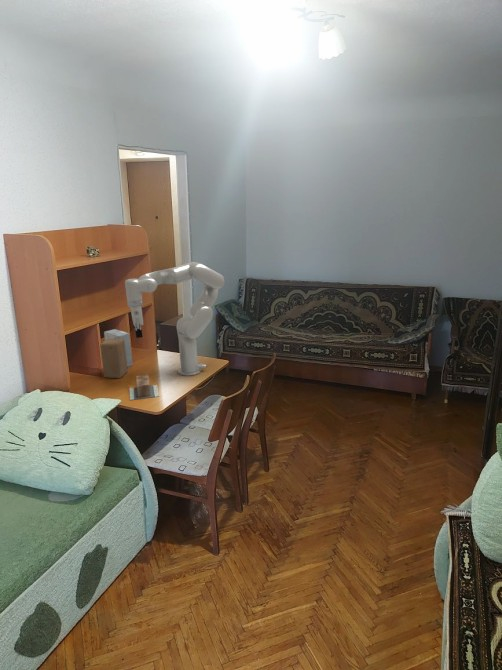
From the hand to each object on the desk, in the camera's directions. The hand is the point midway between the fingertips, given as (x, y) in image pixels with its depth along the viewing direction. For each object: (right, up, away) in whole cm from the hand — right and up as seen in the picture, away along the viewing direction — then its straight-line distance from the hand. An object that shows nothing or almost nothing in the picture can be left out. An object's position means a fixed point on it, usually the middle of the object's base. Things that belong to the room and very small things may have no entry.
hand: (139, 337), depth 239 cm
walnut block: (+2, -23, 0) cm, 23 cm away
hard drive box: (-19, -17, +32) cm, 41 cm away
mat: (+4, -28, -6) cm, 29 cm away
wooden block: (-17, -21, +17) cm, 32 cm away
